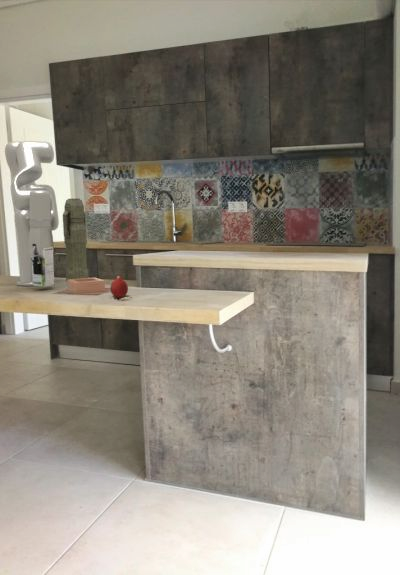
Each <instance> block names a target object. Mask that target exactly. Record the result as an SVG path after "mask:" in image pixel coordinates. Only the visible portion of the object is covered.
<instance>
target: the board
mask: <svg viewBox="0 0 400 575" xmlns="http://www.w3.org/2000/svg"><path fill="white" fill-rule="evenodd" d="M110 289H111V287H105V292H93V293H81V294H75V293H73V292H70V291H68V289H64V290H60V291H55V292H53V293H51V295H69V296H70V295H71V296H73V295H74V296H100V295H104V294H106V293H109V292H110V293H111V290H110Z"/></svg>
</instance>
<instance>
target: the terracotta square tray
mask: <svg viewBox="0 0 400 575" xmlns="http://www.w3.org/2000/svg"><path fill="white" fill-rule="evenodd" d="M66 287H67V289H68V291H70V292H73V293H75V294H81V293H93V292H105V288H106V282H105V279H101V278H98V277H89V278H83V279H68V280H67V282H66ZM67 289H66V290H67Z"/></svg>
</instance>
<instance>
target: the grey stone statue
mask: <svg viewBox="0 0 400 575" xmlns="http://www.w3.org/2000/svg"><path fill="white" fill-rule="evenodd" d="M86 216H87V215H86V212H85V205H84V202H83V200H82V199H80V198H67V199H66V200H65V203H64V211H63V213H62V225H63V226H62V227H63V240H64V245H65V256H66V258H65V260H66V268H65V281H66V282H65V283H67V280H68V279H83V278H90V277H89V269H88V267H87V266H88V264H87V243H88V239H87V238H88V236H87V235H88V233H87V232H88V230H87V218H86Z"/></svg>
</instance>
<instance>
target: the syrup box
mask: <svg viewBox="0 0 400 575" xmlns="http://www.w3.org/2000/svg"><path fill="white" fill-rule="evenodd" d="M53 248H54V246H53V247H45V248H44V250H43V255H42V256H41V262H40V264H42V274H41V275H37V274H34V273H33V263H32V273H33V286H36V287H44V288H45V287H49V286H53V285H55V273H54V272H55V267H54V266H55V264H54V254H53ZM36 255H38V254H36ZM36 258H37V259H38V257H36Z"/></svg>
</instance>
